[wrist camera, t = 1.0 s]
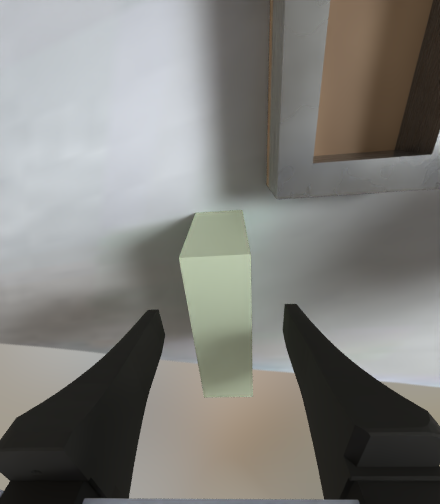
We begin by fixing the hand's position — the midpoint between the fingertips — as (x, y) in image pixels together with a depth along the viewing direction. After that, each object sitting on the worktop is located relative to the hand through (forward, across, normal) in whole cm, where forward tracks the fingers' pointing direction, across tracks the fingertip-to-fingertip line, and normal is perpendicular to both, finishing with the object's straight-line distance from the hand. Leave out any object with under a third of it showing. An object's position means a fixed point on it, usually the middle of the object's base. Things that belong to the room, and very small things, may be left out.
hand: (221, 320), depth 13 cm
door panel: (+4, 0, 0) cm, 5 cm away
